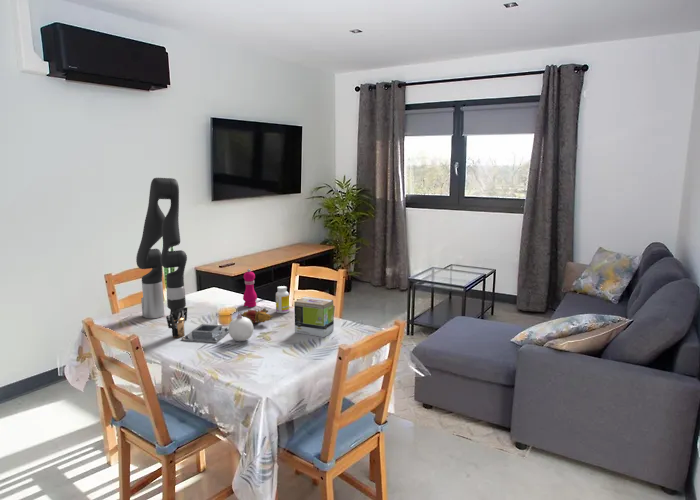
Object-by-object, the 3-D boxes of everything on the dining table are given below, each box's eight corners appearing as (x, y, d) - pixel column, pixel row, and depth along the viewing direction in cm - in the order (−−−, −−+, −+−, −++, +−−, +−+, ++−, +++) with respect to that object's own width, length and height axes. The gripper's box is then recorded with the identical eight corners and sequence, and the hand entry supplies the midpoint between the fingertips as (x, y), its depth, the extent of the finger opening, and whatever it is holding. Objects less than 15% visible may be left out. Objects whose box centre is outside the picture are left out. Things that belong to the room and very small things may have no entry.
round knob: (169, 337, 214) (168, 320, 212) (175, 333, 219) (174, 316, 218) (181, 338, 213) (180, 320, 212) (187, 334, 218) (186, 316, 217)
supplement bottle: (291, 310, 253) (291, 286, 251) (285, 314, 247) (285, 289, 245) (279, 309, 255) (279, 285, 253) (273, 312, 249) (273, 288, 247)
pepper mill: (255, 307, 258) (254, 270, 254) (241, 307, 258) (240, 270, 254) (258, 303, 265) (257, 267, 261) (245, 303, 265) (243, 267, 261)
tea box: (334, 330, 223) (334, 299, 221) (323, 338, 214) (323, 305, 212) (305, 326, 230) (304, 295, 227) (294, 332, 221) (293, 300, 218)
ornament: (232, 346, 204) (231, 318, 202) (226, 338, 213) (225, 311, 211) (256, 342, 209) (255, 315, 207) (249, 334, 218) (248, 308, 216)
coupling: (181, 340, 211) (180, 333, 210) (198, 328, 226) (198, 321, 226) (216, 343, 208) (216, 335, 207) (231, 330, 223) (231, 323, 223)
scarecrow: (240, 330, 224) (239, 314, 222) (237, 319, 239) (236, 303, 238) (277, 326, 229) (277, 310, 227) (272, 315, 244) (272, 300, 242)
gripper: (176, 291, 221) (178, 328, 224) (159, 300, 207) (161, 339, 210) (192, 292, 219) (194, 329, 222) (175, 301, 205) (178, 340, 208)
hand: (178, 334), depth 216 cm, fingers closed on round knob, 5 cm apart
